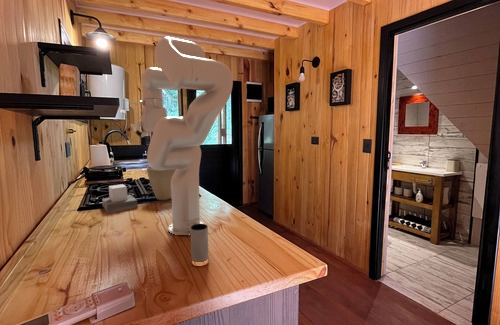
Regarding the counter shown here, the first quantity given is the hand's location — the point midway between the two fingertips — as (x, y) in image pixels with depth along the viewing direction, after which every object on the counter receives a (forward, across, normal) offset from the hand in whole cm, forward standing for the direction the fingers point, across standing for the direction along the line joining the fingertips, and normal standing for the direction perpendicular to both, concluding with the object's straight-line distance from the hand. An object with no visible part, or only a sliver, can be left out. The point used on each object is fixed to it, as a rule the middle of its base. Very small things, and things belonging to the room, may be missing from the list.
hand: (156, 146), depth 112 cm
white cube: (+24, -12, +18) cm, 32 cm away
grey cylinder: (+30, -7, -48) cm, 57 cm away
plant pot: (+27, +10, +20) cm, 35 cm away
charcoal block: (+28, -11, +18) cm, 35 cm away
